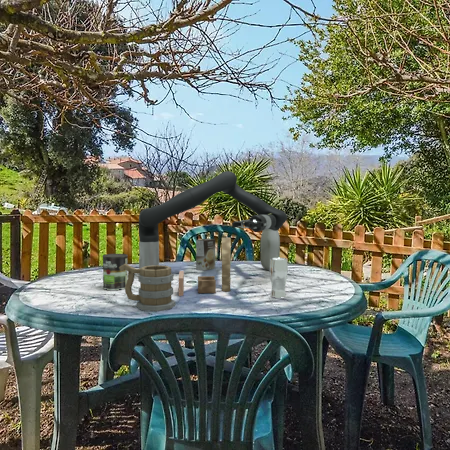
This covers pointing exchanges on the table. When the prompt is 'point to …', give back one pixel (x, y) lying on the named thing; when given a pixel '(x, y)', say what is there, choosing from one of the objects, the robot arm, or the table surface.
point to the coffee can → (114, 271)
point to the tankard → (151, 287)
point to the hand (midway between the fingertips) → (240, 225)
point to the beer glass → (278, 276)
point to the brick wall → (181, 283)
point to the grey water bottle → (269, 247)
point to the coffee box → (205, 254)
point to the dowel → (226, 264)
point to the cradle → (206, 284)
